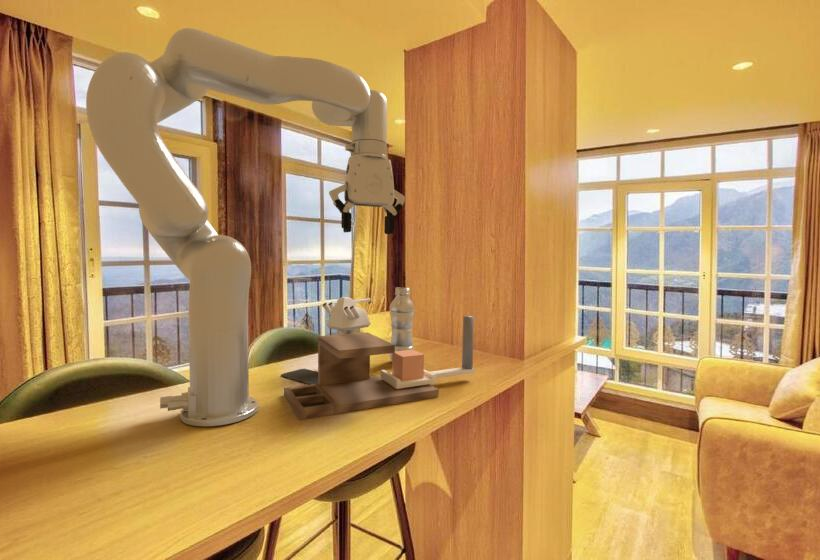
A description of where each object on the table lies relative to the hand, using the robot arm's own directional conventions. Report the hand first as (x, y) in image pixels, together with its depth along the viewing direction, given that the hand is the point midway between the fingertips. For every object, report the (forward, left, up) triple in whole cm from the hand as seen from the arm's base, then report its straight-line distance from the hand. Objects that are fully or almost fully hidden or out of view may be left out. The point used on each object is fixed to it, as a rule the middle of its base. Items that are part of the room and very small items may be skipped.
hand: (368, 233), depth 91 cm
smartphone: (-10, +9, -34) cm, 36 cm away
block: (+6, -7, -31) cm, 32 cm away
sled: (+13, -7, -31) cm, 35 cm away
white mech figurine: (+1, +14, -34) cm, 36 cm away
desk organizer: (-4, -7, -33) cm, 34 cm away
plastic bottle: (+15, +13, -34) cm, 39 cm away
